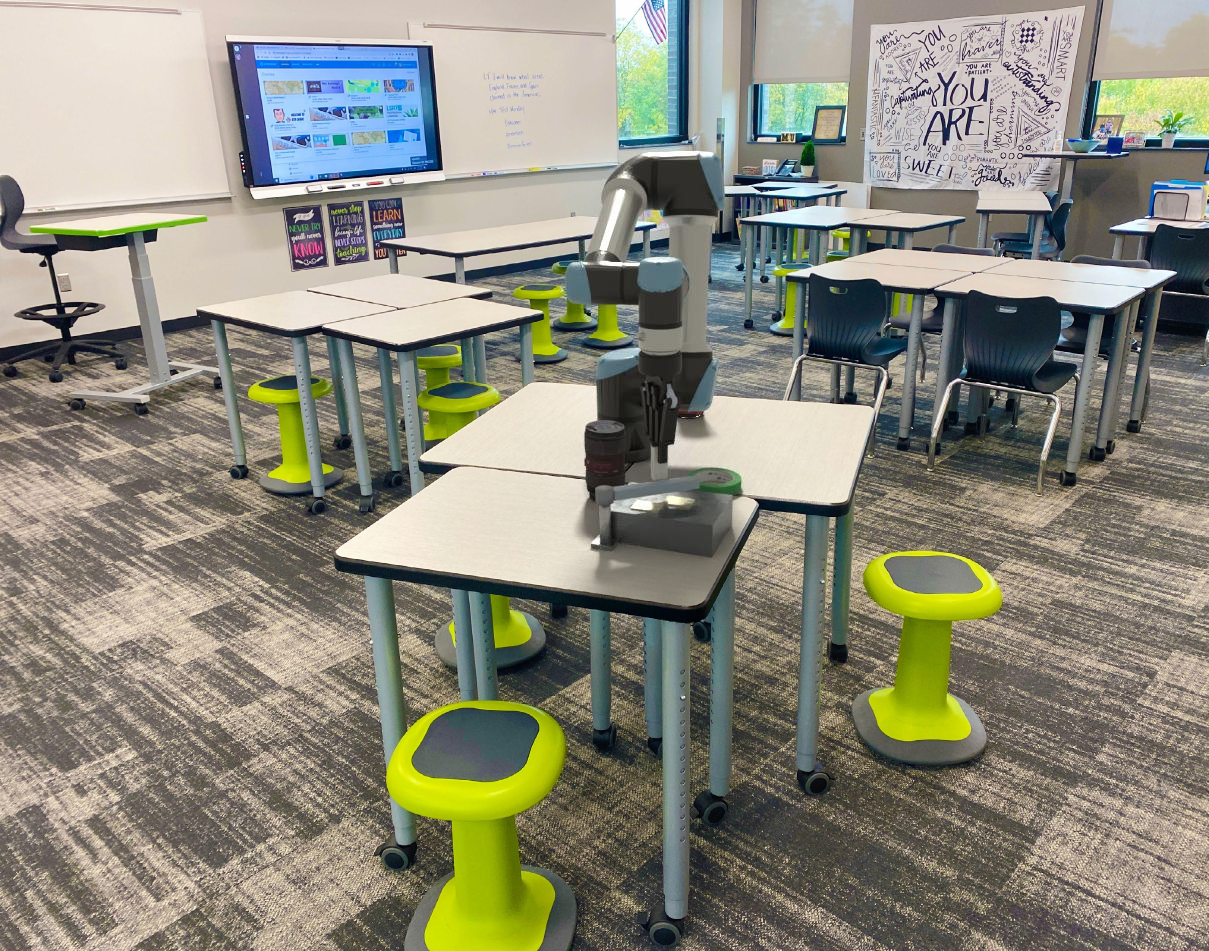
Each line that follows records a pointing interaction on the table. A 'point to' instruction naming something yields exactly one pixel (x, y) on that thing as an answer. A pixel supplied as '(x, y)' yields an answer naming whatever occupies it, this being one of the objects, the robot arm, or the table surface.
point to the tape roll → (718, 474)
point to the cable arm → (644, 489)
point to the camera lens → (604, 455)
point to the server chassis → (667, 522)
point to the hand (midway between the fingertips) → (659, 477)
